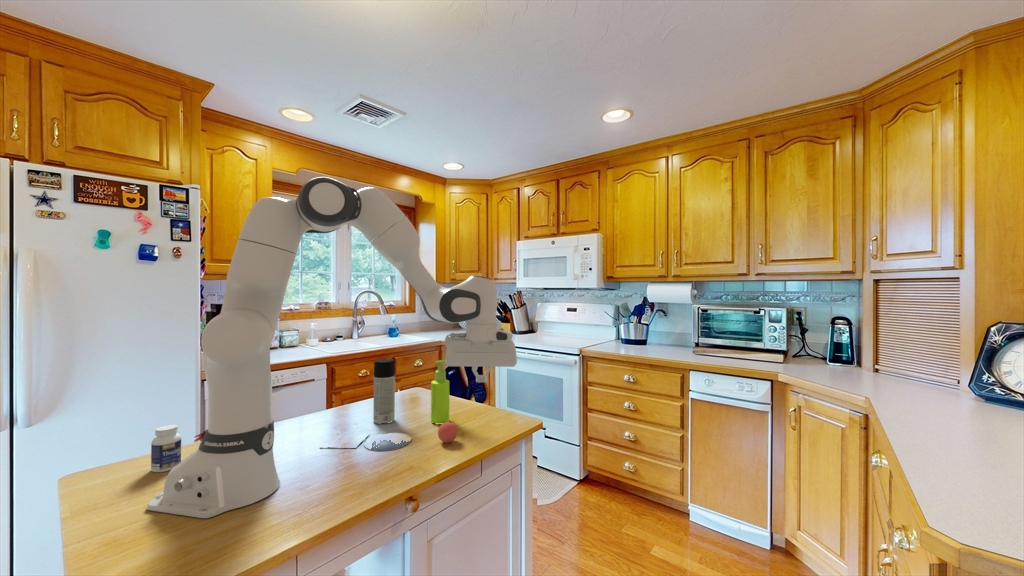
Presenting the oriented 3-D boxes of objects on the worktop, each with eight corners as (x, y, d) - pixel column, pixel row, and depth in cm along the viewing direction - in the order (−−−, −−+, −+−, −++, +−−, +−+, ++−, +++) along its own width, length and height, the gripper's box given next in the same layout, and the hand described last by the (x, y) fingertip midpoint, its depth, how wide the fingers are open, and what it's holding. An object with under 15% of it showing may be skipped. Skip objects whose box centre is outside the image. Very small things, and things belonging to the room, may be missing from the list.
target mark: (355, 450, 103) (355, 450, 103) (373, 432, 116) (373, 432, 116) (404, 451, 102) (404, 450, 102) (416, 433, 115) (416, 432, 115)
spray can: (397, 418, 129) (398, 358, 129) (389, 425, 122) (389, 362, 122) (378, 417, 130) (379, 358, 130) (369, 424, 123) (369, 361, 123)
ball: (436, 445, 106) (436, 425, 106) (439, 438, 112) (440, 419, 112) (455, 446, 106) (455, 426, 106) (458, 438, 112) (458, 419, 112)
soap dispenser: (450, 424, 123) (450, 362, 123) (429, 424, 123) (429, 362, 123) (453, 418, 129) (454, 359, 129) (433, 418, 129) (433, 358, 129)
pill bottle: (163, 474, 89) (163, 432, 89) (144, 472, 90) (145, 430, 90) (186, 464, 95) (187, 424, 95) (169, 462, 96) (169, 422, 96)
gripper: (442, 334, 106) (442, 384, 106) (516, 334, 106) (516, 384, 106) (447, 331, 112) (446, 379, 112) (516, 332, 112) (516, 379, 112)
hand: (481, 382), depth 109 cm, fingers closed
